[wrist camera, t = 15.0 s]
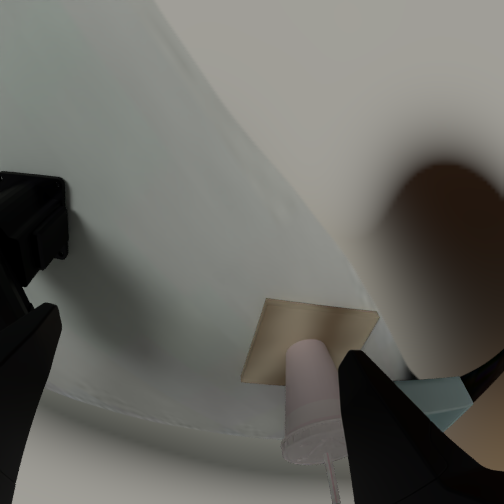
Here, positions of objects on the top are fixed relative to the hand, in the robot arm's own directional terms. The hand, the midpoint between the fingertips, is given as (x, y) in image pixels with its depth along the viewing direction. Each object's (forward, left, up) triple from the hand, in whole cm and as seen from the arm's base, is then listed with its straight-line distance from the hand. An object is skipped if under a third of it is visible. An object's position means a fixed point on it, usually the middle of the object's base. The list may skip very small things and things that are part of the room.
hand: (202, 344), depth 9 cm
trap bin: (+29, -24, -13) cm, 40 cm away
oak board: (+10, -13, -13) cm, 21 cm away
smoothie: (+10, -13, -12) cm, 20 cm away
